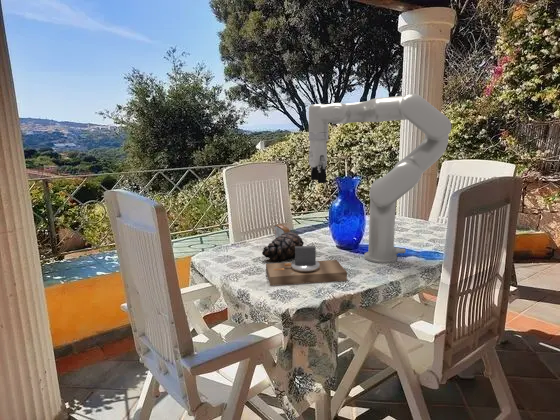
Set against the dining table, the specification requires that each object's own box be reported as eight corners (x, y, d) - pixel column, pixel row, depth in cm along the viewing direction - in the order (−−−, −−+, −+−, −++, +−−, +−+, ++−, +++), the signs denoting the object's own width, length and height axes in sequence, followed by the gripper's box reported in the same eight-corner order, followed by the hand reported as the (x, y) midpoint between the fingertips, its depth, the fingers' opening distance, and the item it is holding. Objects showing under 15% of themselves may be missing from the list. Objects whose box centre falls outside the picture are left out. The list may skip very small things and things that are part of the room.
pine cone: (258, 261, 157) (258, 236, 155) (288, 250, 170) (288, 227, 168) (278, 267, 150) (278, 241, 148) (308, 255, 163) (308, 231, 161)
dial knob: (318, 262, 145) (318, 242, 144) (321, 272, 135) (321, 251, 134) (284, 262, 145) (284, 243, 144) (284, 272, 135) (284, 251, 134)
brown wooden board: (336, 267, 149) (336, 259, 148) (346, 280, 136) (347, 271, 136) (266, 271, 146) (265, 263, 145) (270, 285, 133) (270, 276, 132)
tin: (292, 248, 173) (292, 229, 172) (285, 249, 172) (285, 230, 170) (279, 239, 187) (279, 221, 185) (273, 240, 186) (273, 222, 184)
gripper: (303, 136, 164) (303, 179, 167) (315, 138, 147) (314, 184, 150) (321, 136, 165) (321, 178, 168) (334, 137, 148) (334, 183, 152)
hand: (318, 181), depth 159 cm, fingers open, 9 cm apart
